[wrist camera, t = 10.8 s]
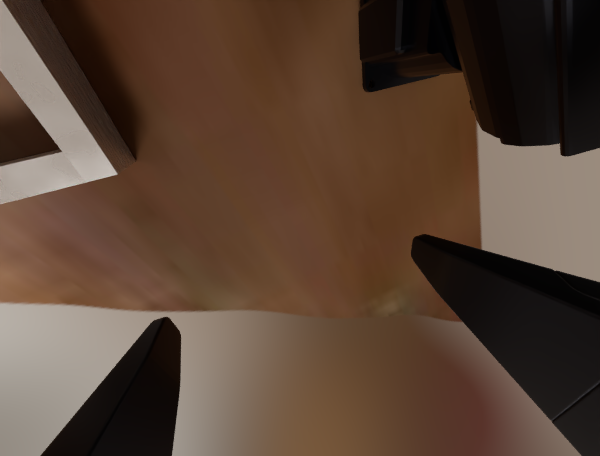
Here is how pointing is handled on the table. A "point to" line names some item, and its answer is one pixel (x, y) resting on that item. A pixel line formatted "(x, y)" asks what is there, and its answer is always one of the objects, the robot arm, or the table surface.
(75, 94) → the sleeve holder
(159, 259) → the table surface
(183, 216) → the table surface
